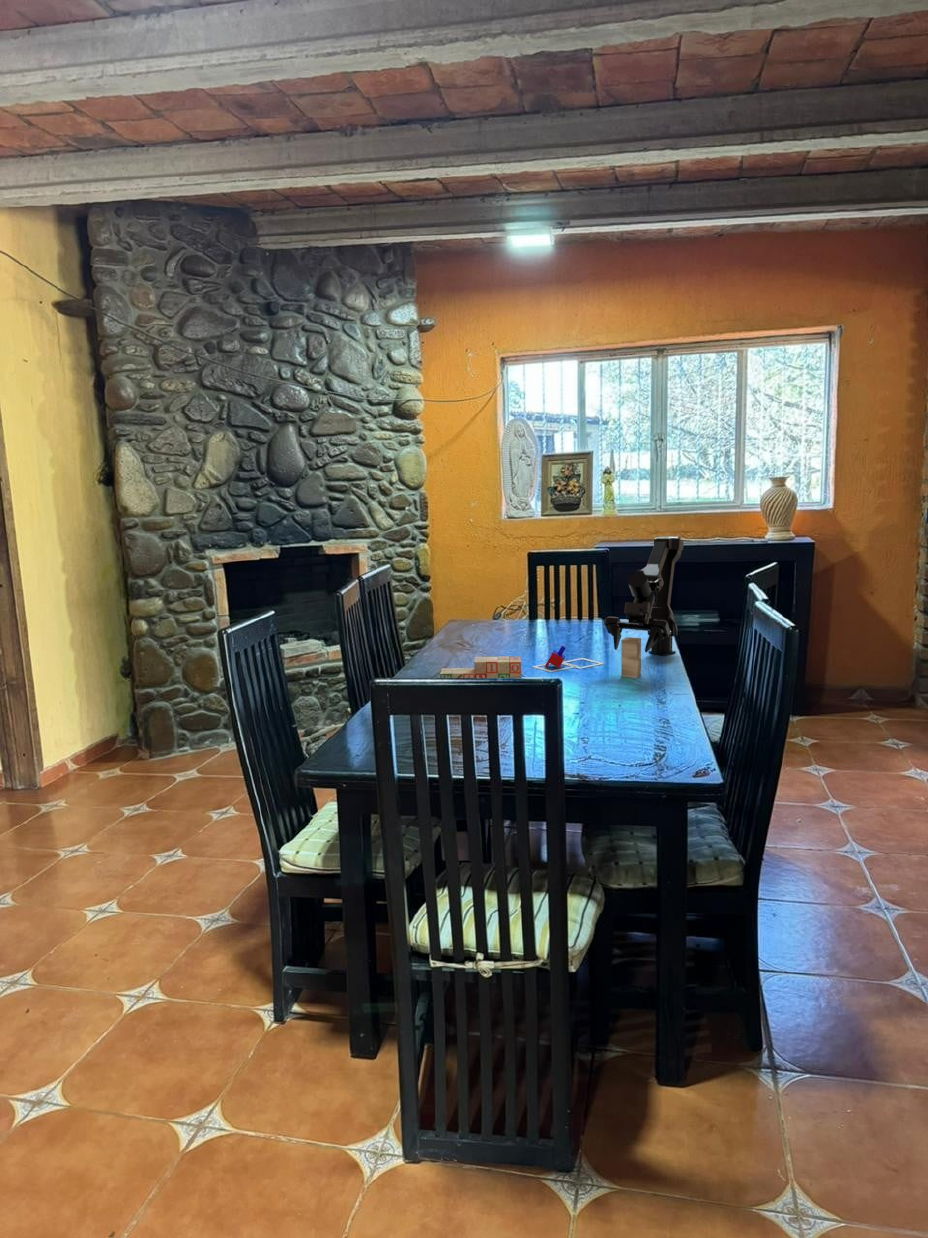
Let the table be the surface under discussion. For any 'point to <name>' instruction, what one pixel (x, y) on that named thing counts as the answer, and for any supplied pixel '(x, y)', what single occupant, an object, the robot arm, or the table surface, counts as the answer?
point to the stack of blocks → (487, 668)
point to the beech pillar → (631, 657)
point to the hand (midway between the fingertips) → (630, 650)
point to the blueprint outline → (569, 665)
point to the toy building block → (556, 657)
